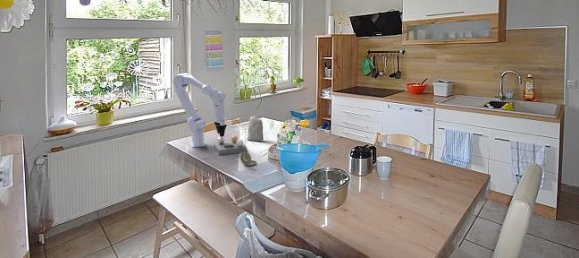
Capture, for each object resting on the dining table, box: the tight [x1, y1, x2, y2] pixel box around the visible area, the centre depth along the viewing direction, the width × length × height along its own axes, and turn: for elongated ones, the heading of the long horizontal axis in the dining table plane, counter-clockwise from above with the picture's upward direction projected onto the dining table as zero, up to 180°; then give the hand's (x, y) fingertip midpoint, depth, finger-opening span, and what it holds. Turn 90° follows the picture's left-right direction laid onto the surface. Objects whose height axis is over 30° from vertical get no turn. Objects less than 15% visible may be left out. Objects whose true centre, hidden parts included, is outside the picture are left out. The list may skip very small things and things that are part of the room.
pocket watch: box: [239, 148, 257, 167], centre depth 191 cm, size 8×8×10 cm
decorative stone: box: [246, 115, 264, 142], centre depth 235 cm, size 11×6×15 cm, turn 58°
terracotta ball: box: [230, 135, 239, 142], centre depth 223 cm, size 4×4×4 cm
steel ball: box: [217, 136, 226, 144], centre depth 221 cm, size 4×4×4 cm
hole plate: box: [212, 140, 248, 156], centre depth 219 cm, size 17×16×2 cm
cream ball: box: [236, 138, 244, 146], centre depth 215 cm, size 4×4×4 cm
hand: (220, 134), depth 220 cm, fingers open, 7 cm apart
